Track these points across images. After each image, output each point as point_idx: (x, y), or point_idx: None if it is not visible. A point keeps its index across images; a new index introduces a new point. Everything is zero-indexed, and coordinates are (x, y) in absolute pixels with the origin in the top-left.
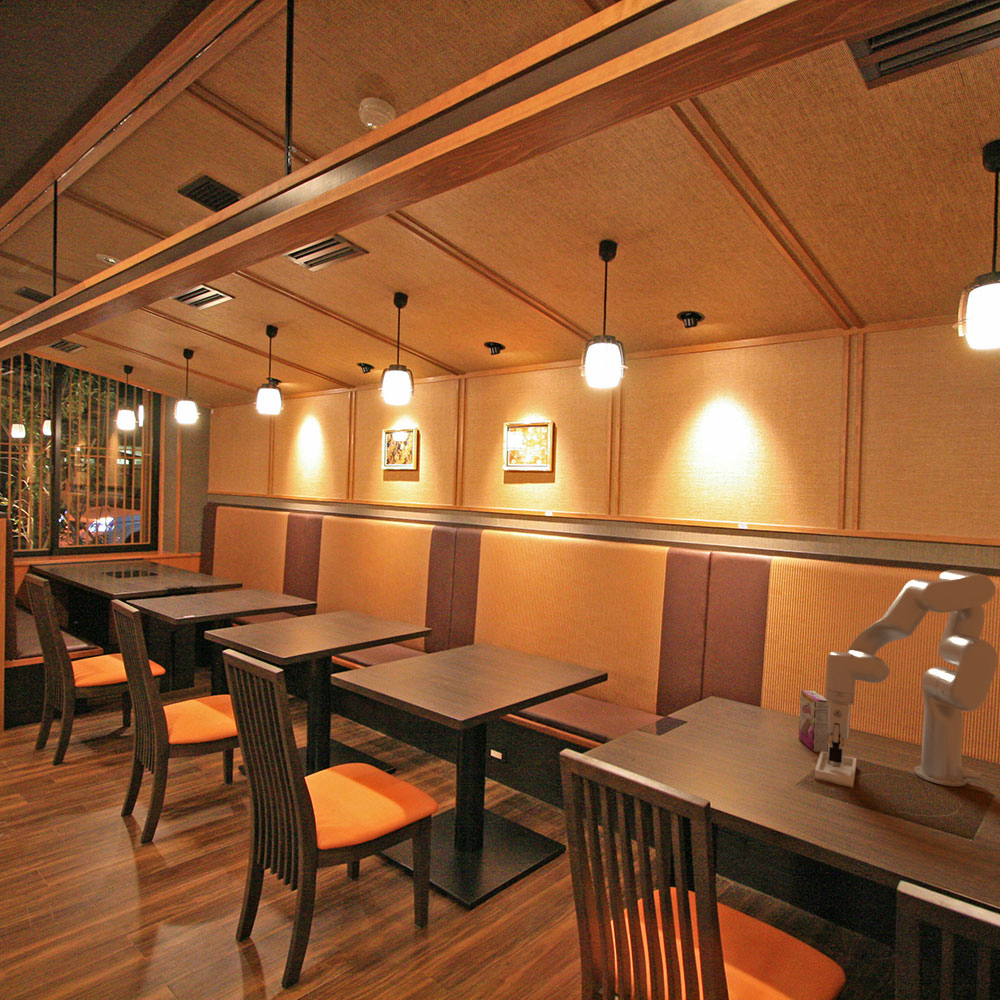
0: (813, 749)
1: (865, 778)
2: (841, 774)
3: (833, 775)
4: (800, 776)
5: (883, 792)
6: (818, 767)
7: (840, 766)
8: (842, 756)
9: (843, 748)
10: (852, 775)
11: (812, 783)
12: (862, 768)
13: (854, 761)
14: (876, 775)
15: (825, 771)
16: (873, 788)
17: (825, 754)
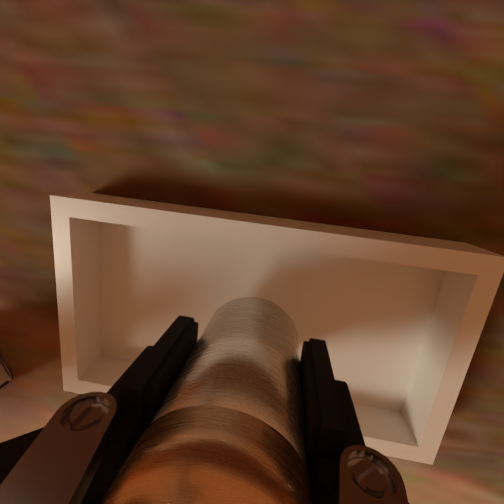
0: (2, 386)
1: (257, 153)
2: (304, 293)
3: (461, 369)
4: (401, 471)
5: (476, 52)
6: (372, 440)
7: (288, 317)
8: (275, 347)
9: (258, 395)
10: (439, 258)
11: (482, 435)
12: (90, 157)
13: (121, 214)
14: (161, 78)
15: (435, 415)
16: (423, 117)
17: (84, 364)
